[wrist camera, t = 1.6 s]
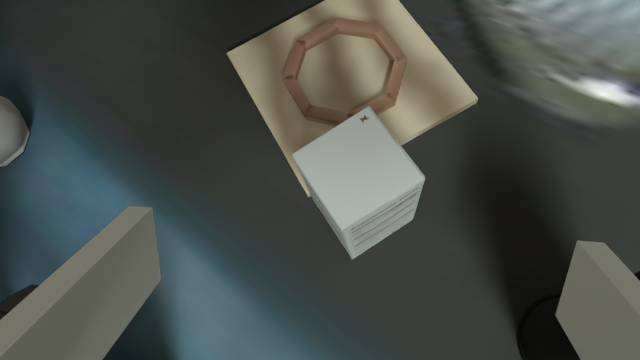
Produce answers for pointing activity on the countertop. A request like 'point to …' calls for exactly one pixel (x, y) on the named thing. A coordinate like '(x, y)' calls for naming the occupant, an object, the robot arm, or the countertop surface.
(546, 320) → the aerosol can
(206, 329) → the countertop surface
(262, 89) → the collar board
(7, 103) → the potion bottle
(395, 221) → the supplement box
